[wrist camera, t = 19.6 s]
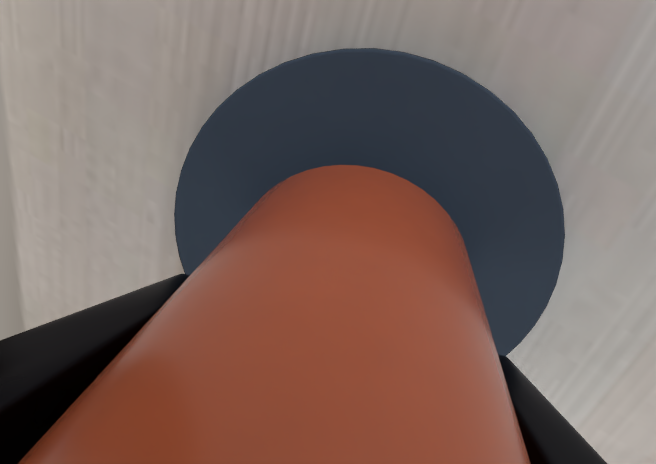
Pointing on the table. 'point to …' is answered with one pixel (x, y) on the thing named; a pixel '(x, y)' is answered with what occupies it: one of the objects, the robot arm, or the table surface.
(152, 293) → the robot arm
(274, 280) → the terracotta tin
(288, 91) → the coaster
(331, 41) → the table surface
